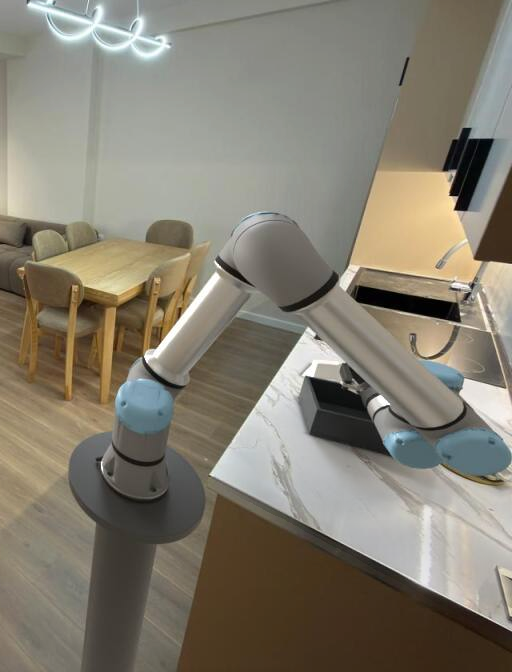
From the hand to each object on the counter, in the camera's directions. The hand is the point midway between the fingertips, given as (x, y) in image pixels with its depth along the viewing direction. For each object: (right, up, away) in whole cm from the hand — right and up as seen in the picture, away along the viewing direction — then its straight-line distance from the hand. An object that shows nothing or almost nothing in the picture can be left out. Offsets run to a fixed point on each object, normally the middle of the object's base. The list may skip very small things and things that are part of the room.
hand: (359, 358), depth 104 cm
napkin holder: (+12, -11, +22) cm, 27 cm away
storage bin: (-2, -18, +2) cm, 18 cm away
